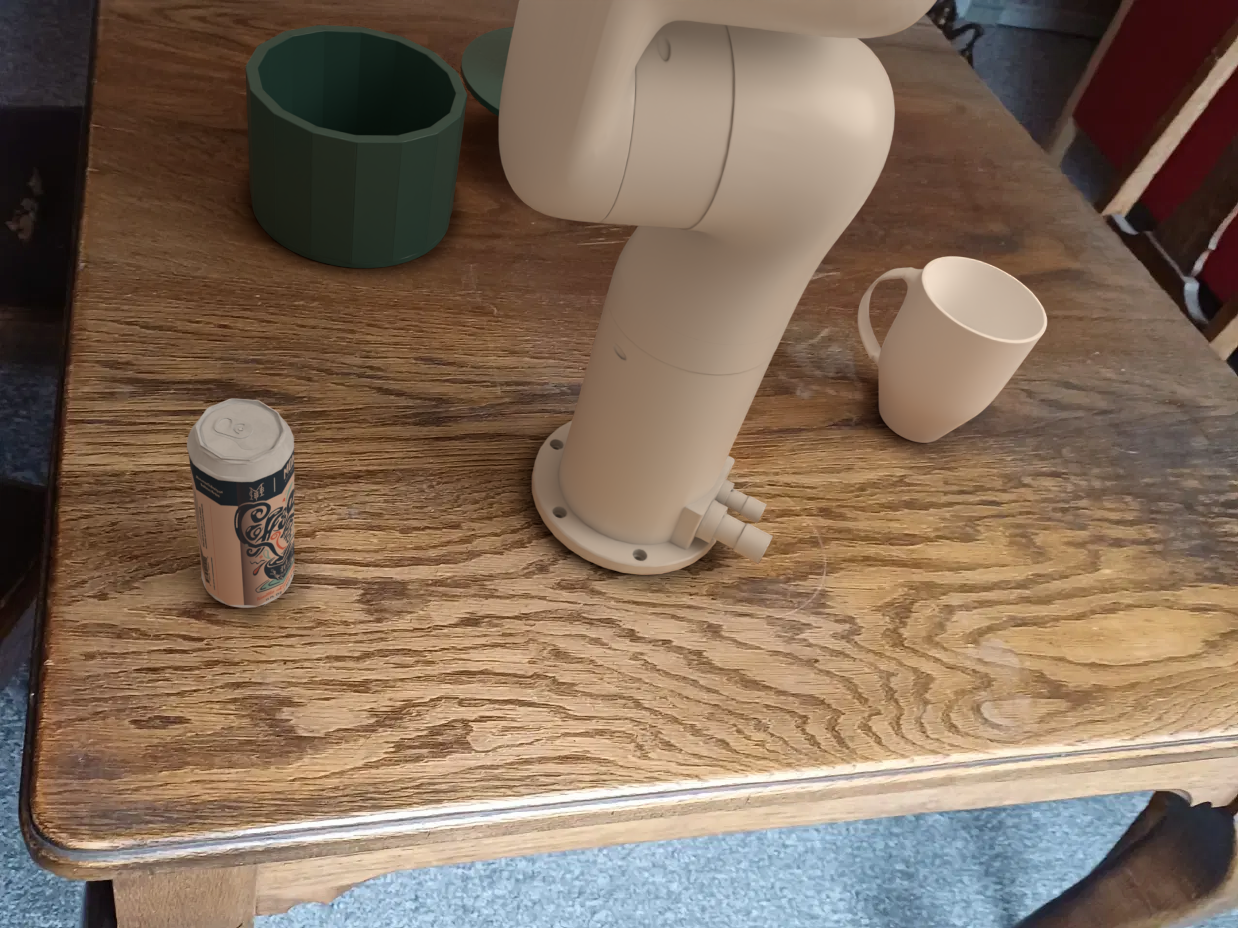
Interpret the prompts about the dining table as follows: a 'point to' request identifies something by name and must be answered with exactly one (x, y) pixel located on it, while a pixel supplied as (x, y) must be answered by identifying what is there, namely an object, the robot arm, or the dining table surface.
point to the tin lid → (487, 67)
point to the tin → (353, 144)
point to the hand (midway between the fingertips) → (561, 69)
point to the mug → (950, 344)
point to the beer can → (243, 501)
